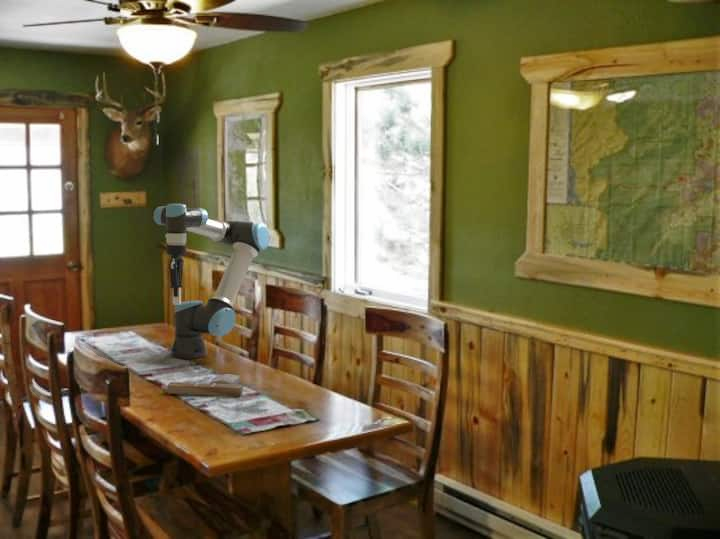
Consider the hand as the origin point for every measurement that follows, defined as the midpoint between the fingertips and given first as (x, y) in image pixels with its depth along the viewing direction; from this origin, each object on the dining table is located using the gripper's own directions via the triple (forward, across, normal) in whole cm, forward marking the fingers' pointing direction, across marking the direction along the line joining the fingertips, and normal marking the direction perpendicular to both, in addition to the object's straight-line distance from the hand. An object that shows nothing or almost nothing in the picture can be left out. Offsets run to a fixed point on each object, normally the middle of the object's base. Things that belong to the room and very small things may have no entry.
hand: (176, 304), depth 304 cm
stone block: (+27, +19, +23) cm, 40 cm away
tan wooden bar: (+26, +29, +18) cm, 43 cm away
